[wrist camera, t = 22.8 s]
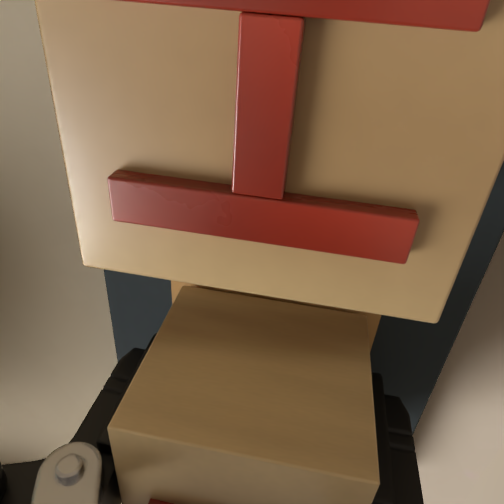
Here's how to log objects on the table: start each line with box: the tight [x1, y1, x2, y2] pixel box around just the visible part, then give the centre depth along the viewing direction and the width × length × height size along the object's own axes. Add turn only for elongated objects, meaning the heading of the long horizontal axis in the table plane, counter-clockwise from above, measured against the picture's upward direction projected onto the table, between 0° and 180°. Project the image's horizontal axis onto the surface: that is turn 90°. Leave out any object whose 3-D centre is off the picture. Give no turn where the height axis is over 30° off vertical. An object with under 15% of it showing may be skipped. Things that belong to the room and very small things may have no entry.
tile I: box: [107, 286, 380, 504], centre depth 11 cm, size 5×5×5 cm
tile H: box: [35, 0, 504, 323], centre depth 6 cm, size 5×5×5 cm
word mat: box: [104, 161, 504, 435], centre depth 11 cm, size 20×10×1 cm, turn 176°
